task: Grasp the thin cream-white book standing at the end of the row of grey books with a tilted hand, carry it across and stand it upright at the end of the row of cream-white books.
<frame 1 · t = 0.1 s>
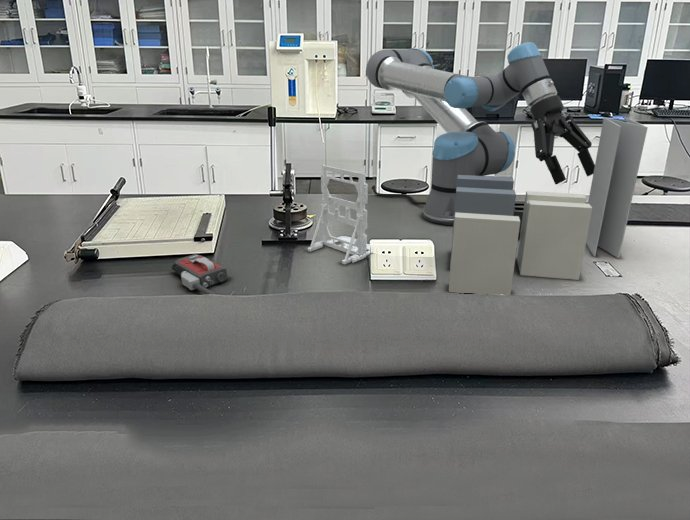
hand: (577, 178, 132), 15 cm above the countertop, tool tilted 35°, fingers open, 13 cm apart
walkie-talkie: (205, 283, 112), on the countertop
brochure: (599, 247, 131), on the countertop
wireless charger: (519, 229, 143), on the countertop
grey books: (477, 263, 121), on the countertop
white books: (546, 269, 118), on the countertop
white book: (478, 291, 108), on the countertop
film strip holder: (345, 250, 129), on the countertop
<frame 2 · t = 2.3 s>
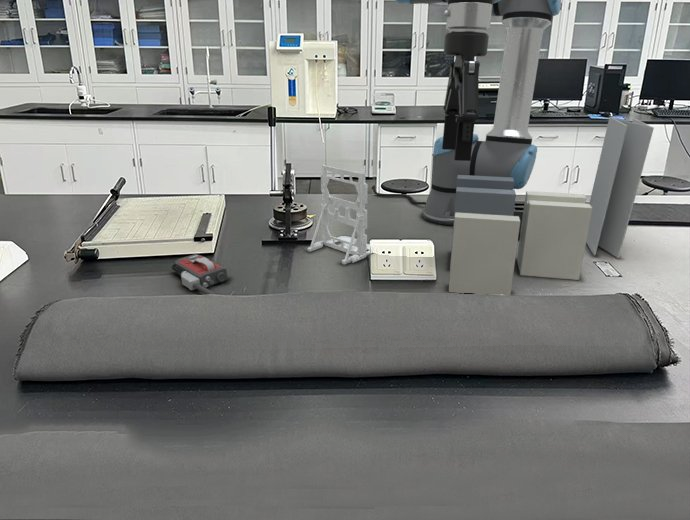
hand: (455, 154, 100), 27 cm above the countertop, tool pointing down, fingers open, 13 cm apart
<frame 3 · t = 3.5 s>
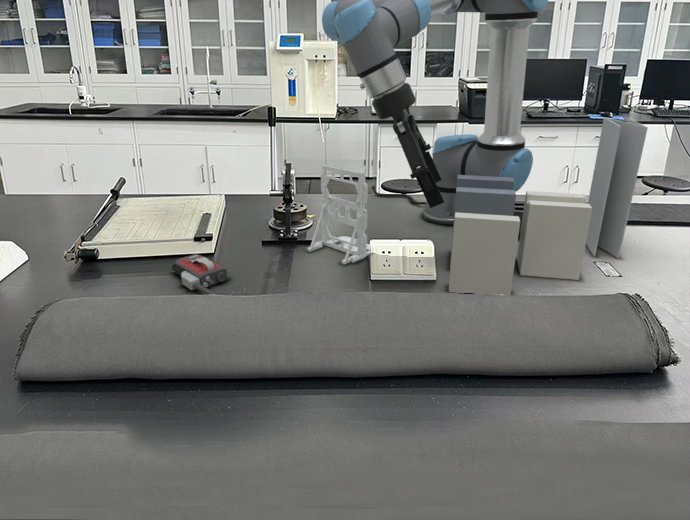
hand: (436, 193, 103), 20 cm above the countertop, tool tilted 25°, fingers open, 13 cm apart
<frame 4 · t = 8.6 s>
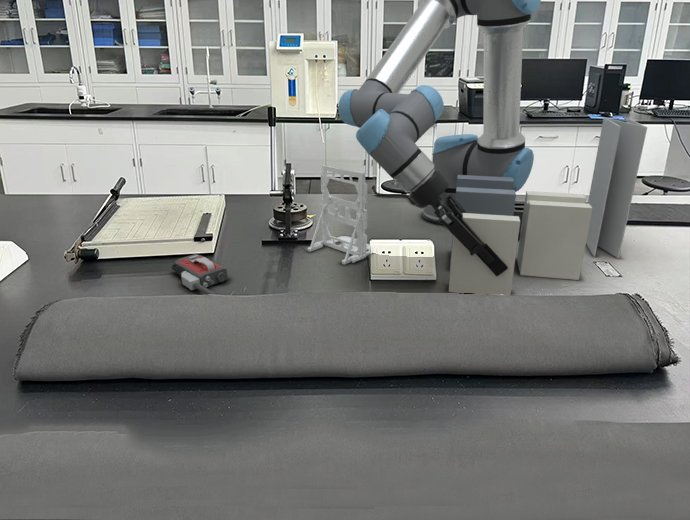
hand: (501, 267, 105), 6 cm above the countertop, tool tilted 45°, fingers closed on white book, 3 cm apart
white book: (478, 291, 108), on the countertop, touching gripper
everything else where it was.
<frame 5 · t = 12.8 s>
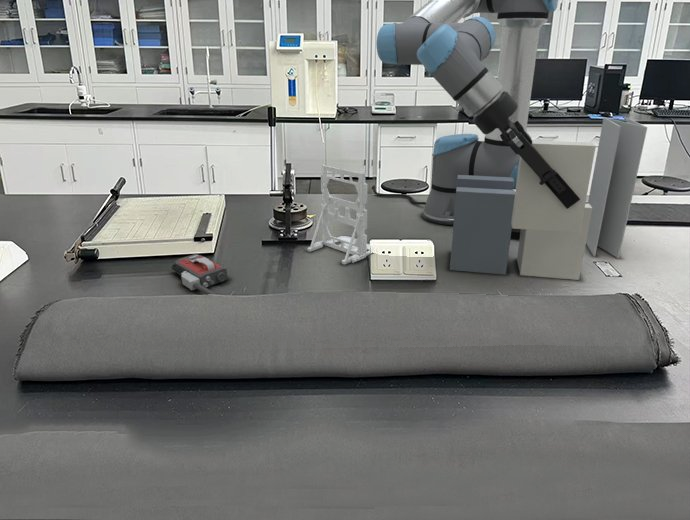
hand: (571, 200, 97), 20 cm above the countertop, tool tilted 45°, fingers closed on white book, 3 cm apart
white book: (544, 228, 100), point 14 cm above the countertop, touching gripper
everything else where it was.
when the fingers open (6 cm above the countertop, at t = 17.4 s): white book stays where it is, on the countertop.
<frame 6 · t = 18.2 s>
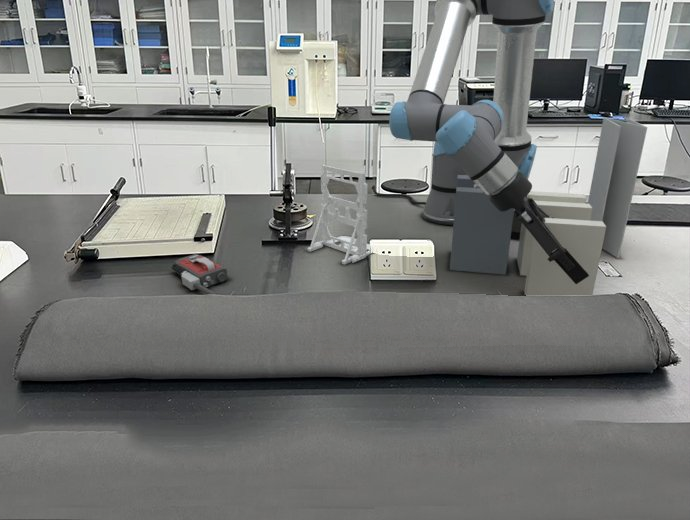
hand: (575, 265, 101), 7 cm above the countertop, tool tilted 45°, fingers open, 13 cm apart
white book: (556, 298, 105), on the countertop
everything else where it was.
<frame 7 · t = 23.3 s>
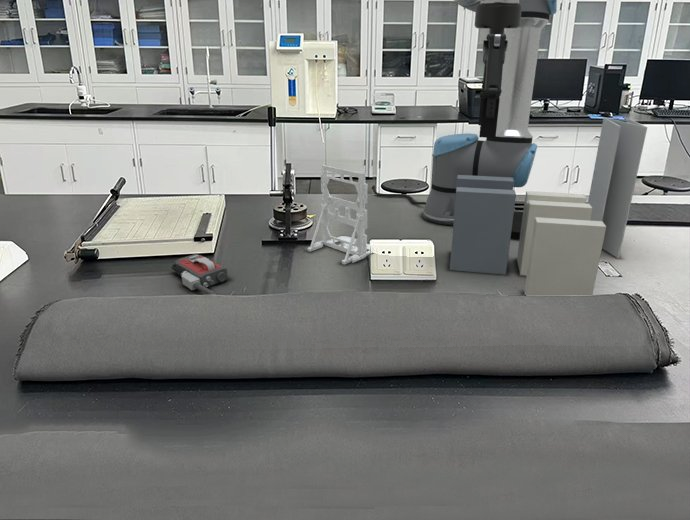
hand: (486, 131, 98), 32 cm above the countertop, tool pointing down, fingers open, 13 cm apart
nothing on the countertop moved.
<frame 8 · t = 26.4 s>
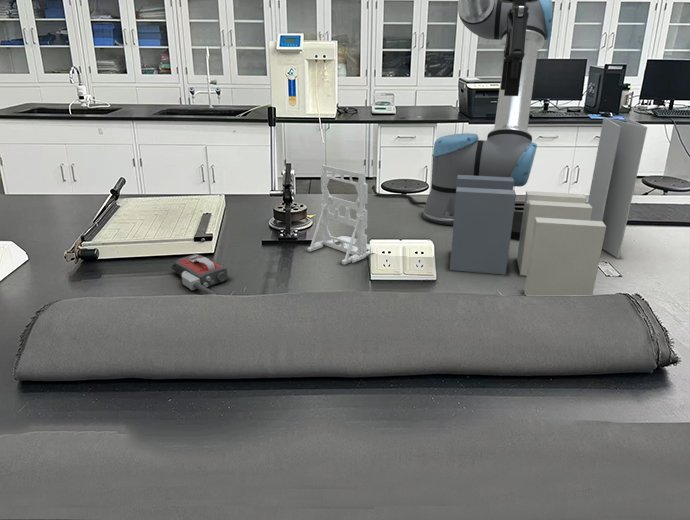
hand: (508, 92, 113), 37 cm above the countertop, tool pointing down, fingers open, 13 cm apart
nothing on the countertop moved.
at the end: white book 0.1 cm from the target spot on the countertop beside the white books, on the countertop; white book tilted 0°; the gripper is holding nothing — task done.
